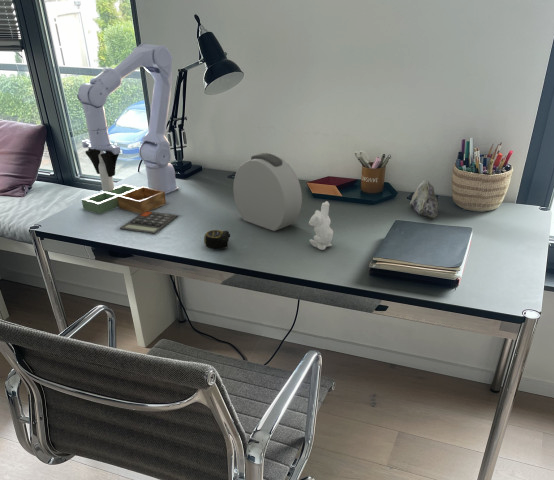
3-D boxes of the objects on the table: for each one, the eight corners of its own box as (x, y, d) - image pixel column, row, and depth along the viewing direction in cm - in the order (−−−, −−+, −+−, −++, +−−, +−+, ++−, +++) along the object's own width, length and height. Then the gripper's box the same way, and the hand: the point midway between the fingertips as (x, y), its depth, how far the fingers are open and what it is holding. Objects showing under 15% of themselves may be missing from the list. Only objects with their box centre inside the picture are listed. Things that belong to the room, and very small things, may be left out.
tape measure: (227, 251, 153) (227, 238, 151) (203, 251, 153) (201, 238, 151) (230, 241, 159) (230, 229, 157) (206, 241, 159) (205, 228, 157)
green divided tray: (125, 193, 192) (124, 184, 190) (142, 197, 189) (140, 188, 187) (83, 209, 180) (81, 199, 178) (100, 214, 176) (98, 204, 174)
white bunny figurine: (316, 239, 160) (317, 197, 153) (338, 243, 158) (341, 201, 151) (304, 250, 154) (305, 207, 147) (327, 254, 151) (329, 211, 144)
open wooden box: (144, 198, 188) (142, 186, 186) (166, 203, 184) (164, 191, 181) (119, 208, 181) (117, 195, 178) (141, 214, 176) (139, 201, 174)
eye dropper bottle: (119, 187, 179) (113, 148, 172) (107, 192, 175) (100, 153, 168) (109, 185, 181) (102, 146, 174) (97, 190, 177) (89, 151, 170)
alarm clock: (301, 227, 167) (303, 159, 155) (284, 234, 163) (285, 164, 151) (251, 210, 179) (249, 145, 167) (234, 216, 174) (231, 150, 163)
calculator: (177, 214, 175) (154, 232, 163) (178, 217, 175) (154, 235, 164) (144, 210, 178) (119, 227, 166) (144, 213, 178) (119, 230, 167)
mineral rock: (433, 224, 169) (438, 191, 163) (398, 217, 173) (403, 185, 168) (445, 210, 178) (450, 178, 172) (412, 205, 183) (416, 173, 177)
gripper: (70, 127, 168) (80, 173, 176) (104, 134, 162) (112, 181, 170) (88, 123, 173) (97, 168, 181) (122, 129, 166) (129, 175, 174)
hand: (105, 174), depth 175 cm, fingers closed on eye dropper bottle, 4 cm apart
